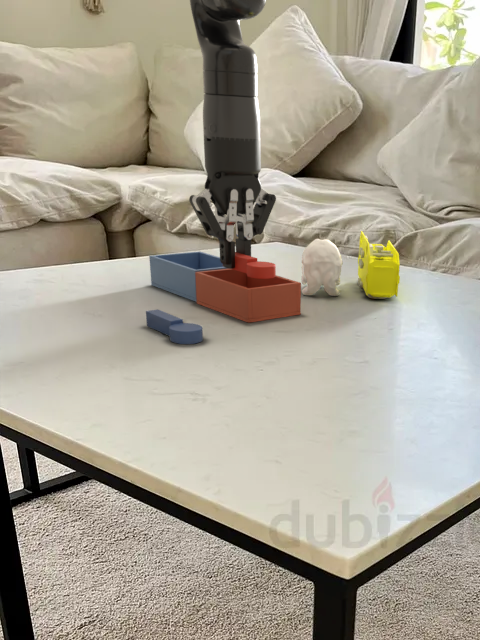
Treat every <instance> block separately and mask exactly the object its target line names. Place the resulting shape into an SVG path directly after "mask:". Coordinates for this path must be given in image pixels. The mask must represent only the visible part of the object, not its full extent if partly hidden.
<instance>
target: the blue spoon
mask: <svg viewBox="0 0 480 640" xmlns="http://www.w3.org/2000/svg"><path fill="white" fill-rule="evenodd" d="M145 317H146V326H147V327H148V328H151V329H152V330H155V331H157V332H159V333H162V334H165V335H166V336H168V337H169V341H170V342H172V343H175V344H179V345H195V344H199V343H201V342H203V340H204V333H203V330H204V329H203V326H202V325H200V324H198V323H192V322H184V319H183V318H180V317H178V316H176V315H173V314H170V313H168V312H166V311H163V310H160V309H150V310H145Z"/></svg>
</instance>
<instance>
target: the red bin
mask: <svg viewBox="0 0 480 640" xmlns="http://www.w3.org/2000/svg"><path fill="white" fill-rule="evenodd" d="M195 277H196V298H197V302H196V304H197V305H199V306H203V307H205V308H208V309H211V310H212V311H216V312H218V313H221V314H224V315H227V316H228V317H232V318H234V319H237V320H240V321H243V322H245V323H248V324H249V323H257V322H262V321H268V320H275V319H280V318H286V317H293V316H299V315H301V313H302V312H301V311H302V309H301V307H302V306H301V305H302V282H301V281H295V280H294V279H290V278H288V277H287V278H286V277H284V276H280V275H277V274H276V276H275V277H274V278H270V279H256V278H251V277H248V276H247V273H243V272H240V271H237V270H234V269H220V270H211V271H201V272H195Z"/></svg>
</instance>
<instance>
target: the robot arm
mask: <svg viewBox="0 0 480 640" xmlns="http://www.w3.org/2000/svg"><path fill="white" fill-rule="evenodd" d="M266 3H267V0H189V4H190V11H191V15H192V16H191V17H192V20H193V24H194V29H195V33H196V37H197V41H198V45H199V48H200V53H201V56H202V57H201V58H202V80H203V83H202V84H203V105H202V129H203V130H202V131H203V152H204V154H203V155H204V168H205V171H206V174H207V175H206V180H205V183H204V189H203V190H202V191H200V192H199V193H197V194H191V195H190V196H189V199H188V200H189V201H188V202H189V203H190V206H191V207H192V209H193V211H194V213H195V215H196V217H197V218H198V220H199V222H200V224H201V226H202V228H203V230H204V232H205V233H206V235H208V236H212V237H214V238H216V239H217V240H218V244H219V257H220V261H221V263H223V266H224V267H226V268H229V269H233V268H235V252H237V253H241V254H244V255H248V256H251V257H252V240H253V238H254V237H255V236H258V235H262V234H263V232H264V230H265V227H266V225H267V222H268V220H269V217H270V215H271V213H272V212H273V211H272V210H273V208H274V206H275V203H276V202H277V196H276V195H275V194H273V193H269V192H267V191H266V190H265V189H263V188H262V183H261V181H260V177H259V174H260V172H261V171H262V157H261V156H262V151H261V144H262V143H261V140H262V139H261V111H260V105H259V86H258V85H259V82H258V81H259V67H258V58H257V54H256V52H255V50H254V49H253V48H252V47H250V46H249V45H248V44H245V42H244V39H243V34H242V29H241V23H240V21H247V20H251V19H253V18H256V17H257V16H259V14H261V12H263V10H264V8H265V7H266ZM213 205H214V211H213V210H212V207H213ZM235 234H236V237H237V238H235ZM234 238H235V241H234Z"/></svg>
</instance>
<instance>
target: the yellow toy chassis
mask: <svg viewBox="0 0 480 640" xmlns="http://www.w3.org/2000/svg"><path fill="white" fill-rule="evenodd" d="M358 244H359V245H358V257H357V265H358V266H357V276H358V277H357V286H358V289H360V290H362V289H363V291H364V293H365V295H366V296H367V297H368V298H370V299H374V300H385V299H387V298H392V297H394V296H395V297H397V298H398V296H399V295H398V293H399V284H400V281H401V276H400V267H401V266H400V265H401V263H400V262H401V261H400V253H399V252H398V250H397V249H396V247H394V245H393V244H392V242H391V240H388V241H387V243H386V246H385V245H383V244H382V243H370V242H369V237H368V236H367V235H365V233H364V231H362V230H361V231H360V234H359V242H358Z"/></svg>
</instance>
